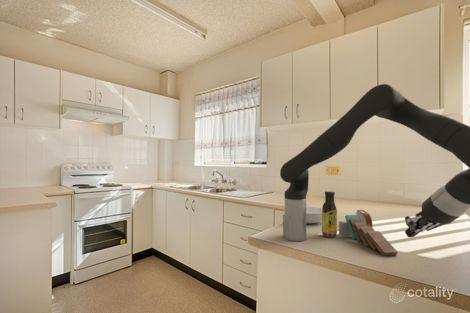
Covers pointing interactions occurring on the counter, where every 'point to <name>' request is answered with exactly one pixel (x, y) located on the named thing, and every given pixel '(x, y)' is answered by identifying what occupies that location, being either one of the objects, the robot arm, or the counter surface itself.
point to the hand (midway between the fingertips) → (408, 234)
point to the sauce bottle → (329, 215)
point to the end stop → (344, 229)
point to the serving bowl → (313, 214)
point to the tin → (364, 217)
